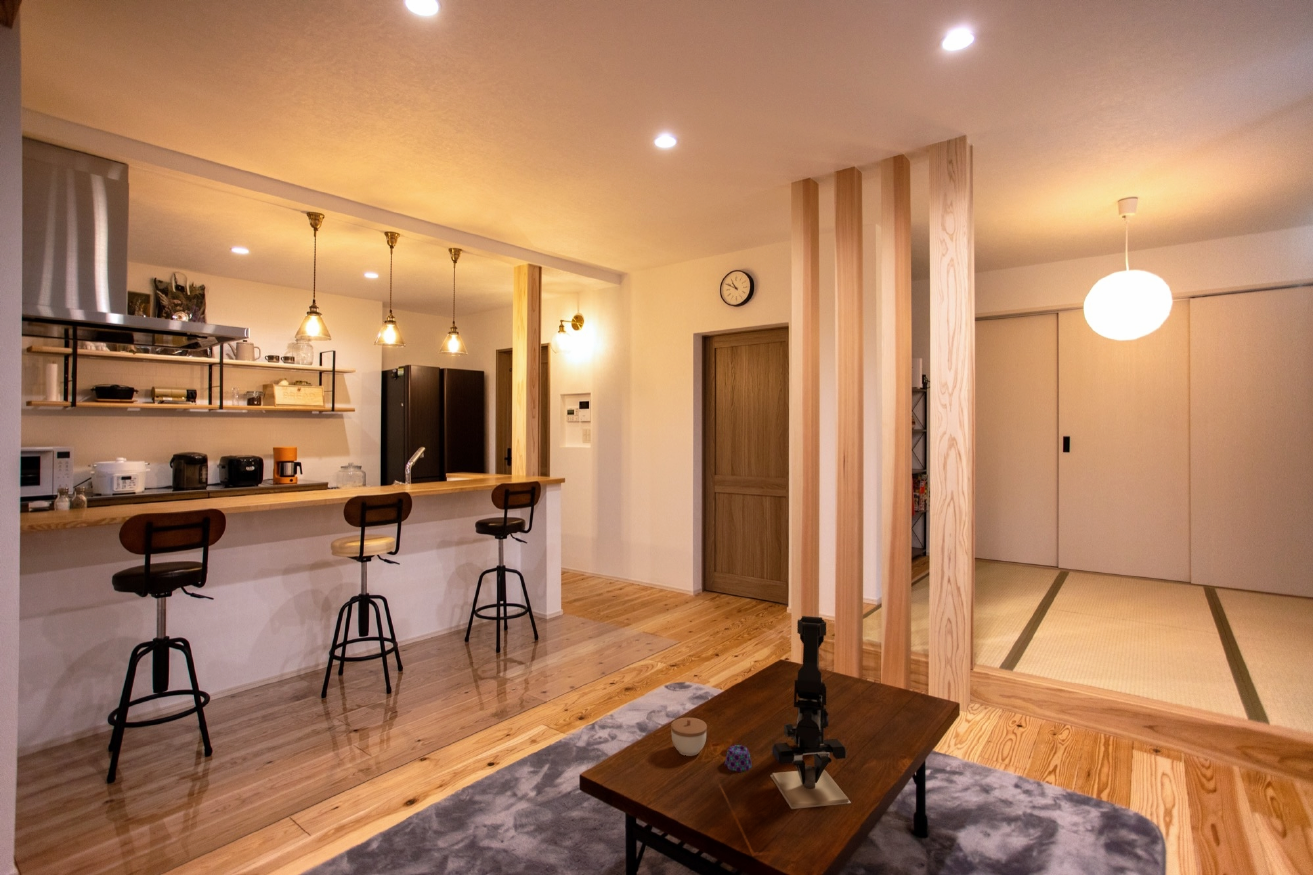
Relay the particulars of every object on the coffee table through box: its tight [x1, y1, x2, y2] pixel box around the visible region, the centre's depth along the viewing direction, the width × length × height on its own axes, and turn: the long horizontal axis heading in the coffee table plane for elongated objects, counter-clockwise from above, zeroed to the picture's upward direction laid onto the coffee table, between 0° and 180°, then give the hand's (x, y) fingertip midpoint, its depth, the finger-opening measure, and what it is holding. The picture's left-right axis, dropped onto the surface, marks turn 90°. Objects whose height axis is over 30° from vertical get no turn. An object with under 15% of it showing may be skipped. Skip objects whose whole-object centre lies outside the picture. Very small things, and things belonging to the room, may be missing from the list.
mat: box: [770, 774, 852, 810], centre depth 169 cm, size 16×16×1 cm
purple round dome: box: [724, 744, 753, 773], centre depth 182 cm, size 12×12×5 cm
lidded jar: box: [670, 717, 708, 757], centre depth 191 cm, size 11×11×9 cm
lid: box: [771, 765, 850, 807], centre depth 169 cm, size 15×15×5 cm
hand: (809, 782), depth 169 cm, fingers closed on lid, 3 cm apart
